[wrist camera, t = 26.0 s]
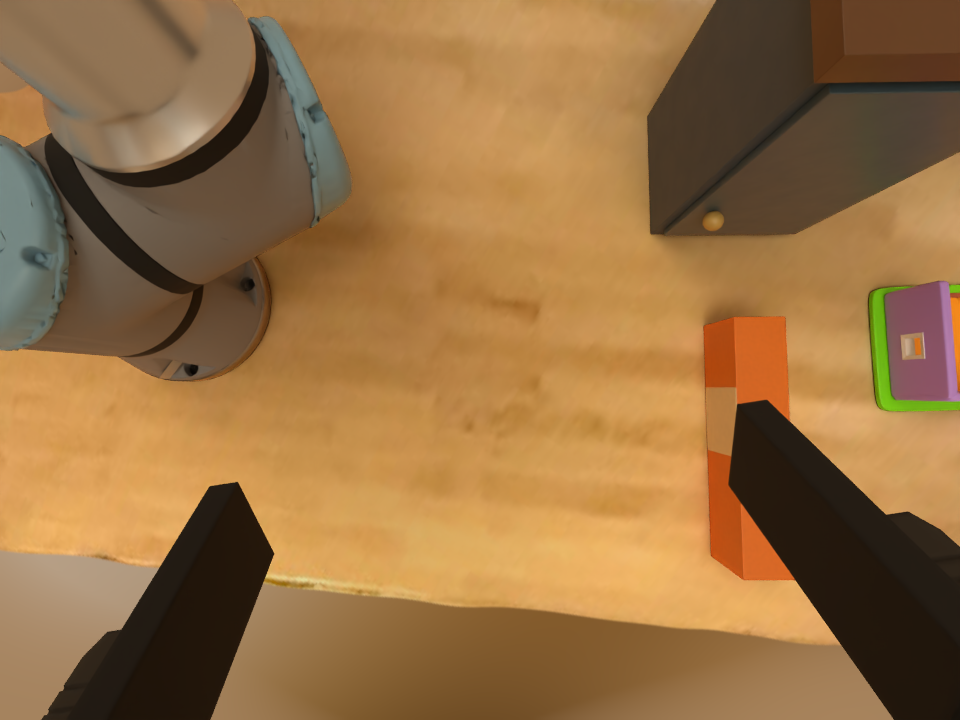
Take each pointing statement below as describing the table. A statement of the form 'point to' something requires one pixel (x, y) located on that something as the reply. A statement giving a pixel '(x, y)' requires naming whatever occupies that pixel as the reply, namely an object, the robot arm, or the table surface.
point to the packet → (730, 381)
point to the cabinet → (801, 112)
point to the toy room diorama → (916, 347)
